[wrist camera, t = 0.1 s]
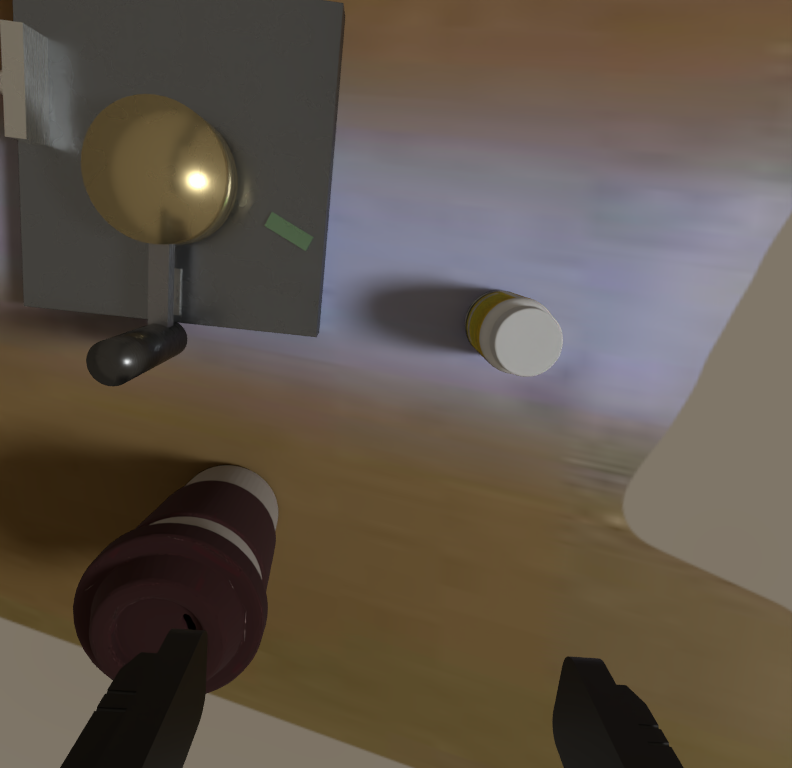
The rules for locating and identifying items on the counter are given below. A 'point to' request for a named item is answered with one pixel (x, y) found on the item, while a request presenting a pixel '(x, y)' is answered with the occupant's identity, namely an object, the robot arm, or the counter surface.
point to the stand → (216, 103)
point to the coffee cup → (185, 576)
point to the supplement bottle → (514, 333)
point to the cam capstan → (154, 210)
